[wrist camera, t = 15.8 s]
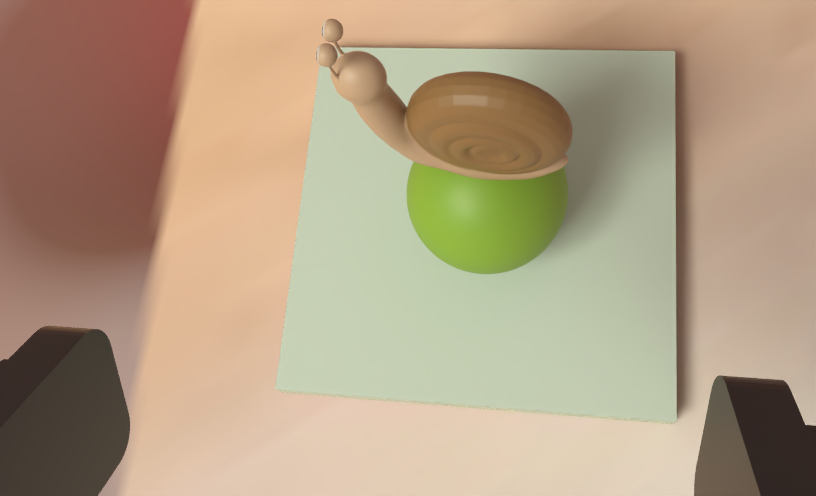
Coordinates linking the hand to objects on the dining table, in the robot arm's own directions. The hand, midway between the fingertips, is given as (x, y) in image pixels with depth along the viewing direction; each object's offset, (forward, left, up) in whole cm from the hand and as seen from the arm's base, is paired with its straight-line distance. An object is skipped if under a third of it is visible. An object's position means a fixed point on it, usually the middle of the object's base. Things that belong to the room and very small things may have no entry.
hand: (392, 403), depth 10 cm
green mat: (0, -9, -18) cm, 20 cm away
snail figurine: (0, -8, -17) cm, 19 cm away
